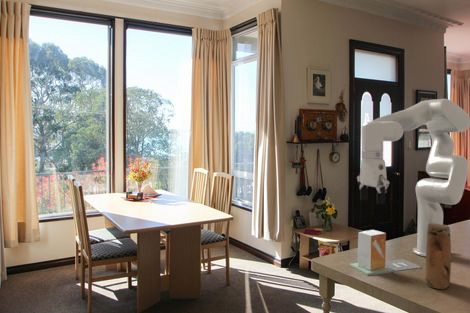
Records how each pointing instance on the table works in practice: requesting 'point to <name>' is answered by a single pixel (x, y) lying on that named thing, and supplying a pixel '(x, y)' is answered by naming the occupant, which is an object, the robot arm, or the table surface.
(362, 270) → the sage board
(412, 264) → the slate tile
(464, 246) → the table surface
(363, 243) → the small box
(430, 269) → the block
